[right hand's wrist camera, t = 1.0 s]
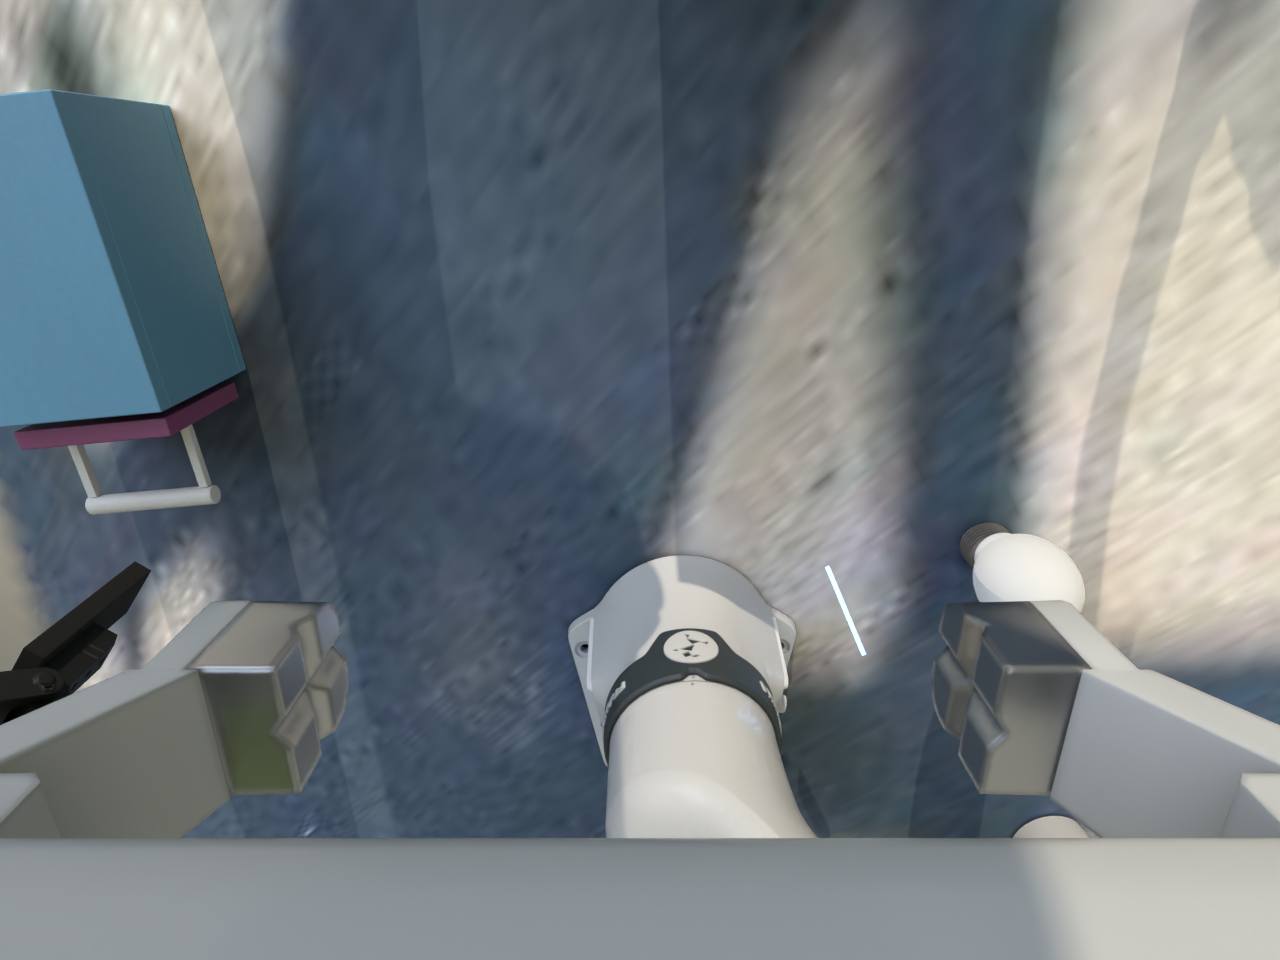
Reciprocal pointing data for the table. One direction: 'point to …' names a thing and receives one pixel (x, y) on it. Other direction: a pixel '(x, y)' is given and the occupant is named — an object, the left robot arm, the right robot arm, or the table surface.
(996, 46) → the table surface
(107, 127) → the cabinet
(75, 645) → the left robot arm
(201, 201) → the table surface
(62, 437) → the drawer
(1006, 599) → the light bulb
